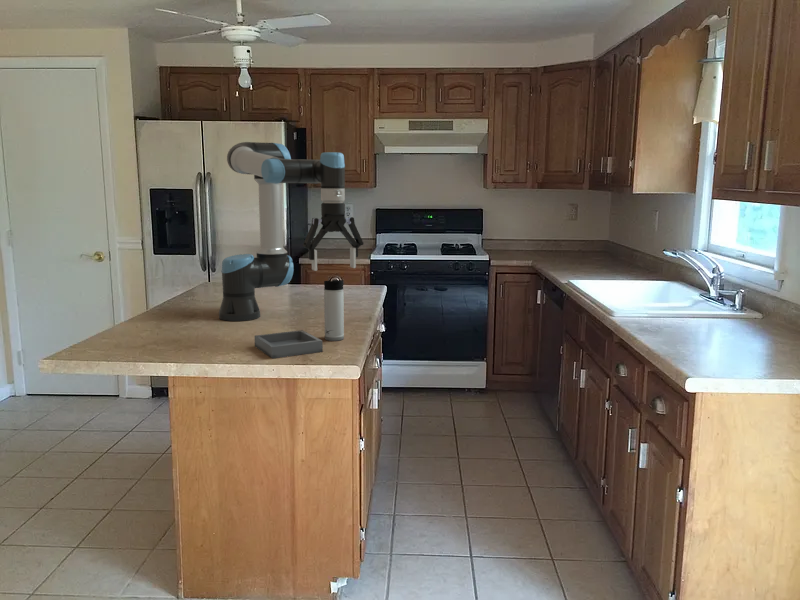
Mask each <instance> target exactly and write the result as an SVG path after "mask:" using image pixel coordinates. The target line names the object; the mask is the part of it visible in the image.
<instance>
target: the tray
mask: <svg viewBox="0 0 800 600" xmlns="http://www.w3.org/2000/svg"><path fill="white" fill-rule="evenodd" d="M256 347H257V348H256ZM323 347H324V346H323V340H322V339H320V338H319V337H316V336H314V335H313V334H311V333H309V332H307V331H305V330H303V329H299V330H291V331H283V332H274V333H267V334H259V335H254V348H256V349H258V350H259V351H261V352H262V353H263V354H265V355H267V356H268V358H271V359H272V360H273V359H279V358H280V357H281V358H287V356H288V357H294V355H296V356H301V355H302V354H303V355H309V354H316V353H323V352H324V351H323Z"/></svg>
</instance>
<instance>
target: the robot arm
mask: <svg viewBox="0 0 800 600" xmlns="http://www.w3.org/2000/svg"><path fill="white" fill-rule="evenodd" d="M227 152H228V153H227V155H226V162H227V164H228V167H229V168H230V169H231V170H232V171H233V172H235V173H237V174H241V175H242V174H243V175H253V177H254V178H253V179H254V181H255V182H256V183H257V184H258V205H259V206H258V208H259V209H258V210H259V214H258V215H259V235H260V236H259V245H260V246H259V247H260V248H259V249H258V250H257V251H256V257H255V256H254V255H253V254H252V253H244V254H241V253H240V254H235V255H231V256H227V257H225V258H224V259H222V262H221V270H220V271H221V279H222V281H221V282H222V283H221V284H222V301H221V302H220V303H221V304H220V307H219V309H218V310H219V311H218V318H219V319H220V320H222V321H229V322H240V321H241V322H244V321H252V320H256V319H259V318H260V317H261V310H260V306H259V304H258V301H257V299H256V295H255V289H261V288H262V289H263V288H272V287H276V288H279V287H282V286H286V285H289V283H290V281H292V279H293V275H294V270H295V269H294V262H293V258H292V257H291V255H288V251H287V250H286V249H285V248H284V229H283V228H284V227H283V226H284V225H283V224H284V223H283V187H282V186H283V184H316V185H317V184H320V200H321V202H322V203H321V205H320V206H321V207H320V210H321V211H320V212H321V218H318V217H312V219H311V225H310V227H309V230H308V232H307V234H306V237H305V240H304V242H303V244H302V247H303V248H305V249H307V250H308V259H309V260H310V261H311V270H312V271H315V272H316V271H318V250H317V249H316V247H317V246H318V245H319V243H320V242H321V241H322V239H324V237H325V235H326V234H327V233H334V232H336V233H337V232H338V233H339V232H340V233H341V234H342V235H343V236H344V238H345V240H346V241H348V243H349V244H350V245H351V246H352V247H349V267H350V268H351V269H352V268H353V269H356V268H357V261H356V260H357V258H358V256H359V249H360V247H361V246H363V245H364V241H363V239H362V237H361V234H360V232H359V230H358V229H357V226H356V222H355V218H354V217H352V216H348V217H346V204H345V203H344V202H345V201H346V195H345V194H346V189H345V187H346V186H345V180H346V179H345V178H346V177H345V175H346V171H345V170H346V164H345V156H344V154H343V153H342V152H338V151H337V152H336V151H332V152H331V151H330V152H329V151H328V152H327V151H326V152H321V154H320V155H319V157H320V159H301V158H300V159H298V158H297V159H292V157H291V153H290V151H289V150H288V148H287V147H286V146H285V145H284V144H282V143H278V142H277V143H276V142H258V141H257V142H252V141H243V142H239V143H236V144H234V145H232V147H230V149H229V150H228V151H227ZM320 224H321V225H322V226H321V228H320V229H319V232H318V233H316V231H317V230H318V227H319V226H320ZM345 224H347V225H348V228H349V230H350V232H351V233H350V232H349V231H348V229H347V228H346V227H345ZM315 234H316V236H315ZM351 234H352V235H353V236H352V235H351Z"/></svg>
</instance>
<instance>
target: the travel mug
mask: <svg viewBox="0 0 800 600" xmlns="http://www.w3.org/2000/svg"><path fill="white" fill-rule="evenodd" d="M323 286H324V288H323V298H324V299H323V302H324V310H323V311H324V312H323V313H324V340H326V341H328V342H329V341H330V342H338V341H342V340H344V338H345V327H344V325H345V322H344V321H345V320H344V319H345V316H344V315H345V314H344V313H345V312H344V311H345V310H344V308H345V307H344V306H345V305H344V300H345V299H344V295H345V294H344V280H341V279H340V280H339V279H332V280H323Z"/></svg>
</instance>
